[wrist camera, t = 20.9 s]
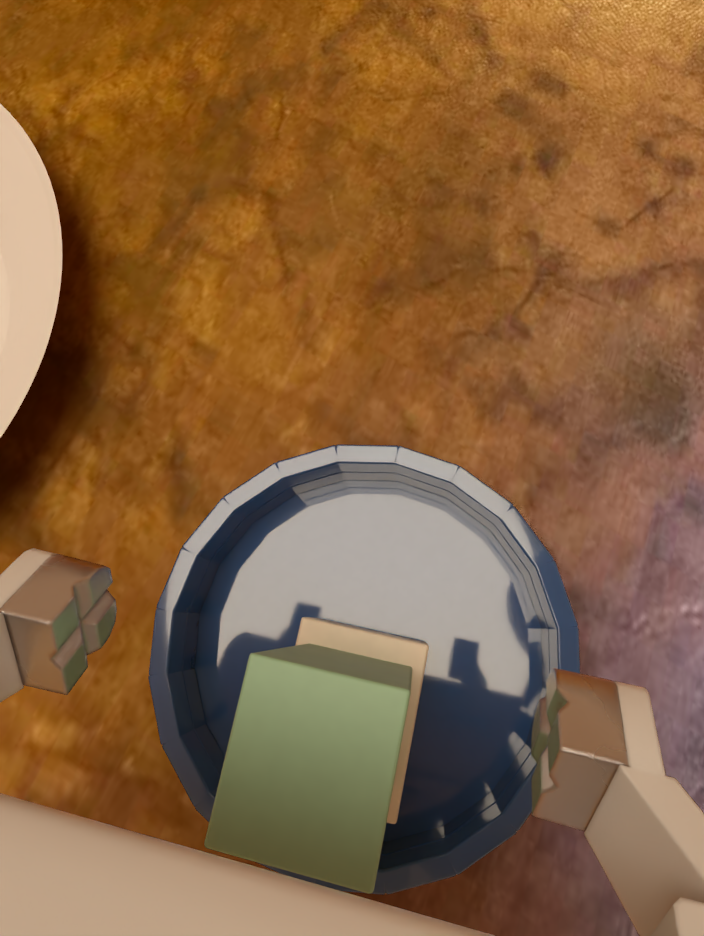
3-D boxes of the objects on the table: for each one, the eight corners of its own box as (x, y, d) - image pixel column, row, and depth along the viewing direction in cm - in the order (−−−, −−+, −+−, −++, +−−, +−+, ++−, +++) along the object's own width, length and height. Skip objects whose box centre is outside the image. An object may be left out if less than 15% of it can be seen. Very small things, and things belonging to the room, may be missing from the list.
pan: (552, 470, 26) (573, 447, 23) (563, 871, 23) (588, 913, 20) (203, 463, 28) (173, 441, 24) (165, 839, 24) (125, 873, 21)
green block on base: (428, 642, 25) (437, 655, 14) (398, 801, 23) (384, 946, 13) (314, 617, 25) (241, 611, 15) (280, 770, 24) (173, 885, 13)
